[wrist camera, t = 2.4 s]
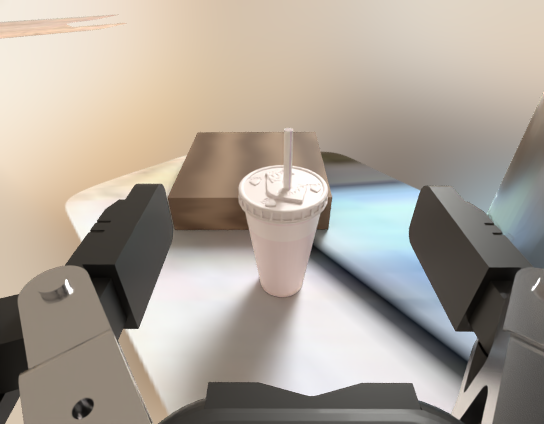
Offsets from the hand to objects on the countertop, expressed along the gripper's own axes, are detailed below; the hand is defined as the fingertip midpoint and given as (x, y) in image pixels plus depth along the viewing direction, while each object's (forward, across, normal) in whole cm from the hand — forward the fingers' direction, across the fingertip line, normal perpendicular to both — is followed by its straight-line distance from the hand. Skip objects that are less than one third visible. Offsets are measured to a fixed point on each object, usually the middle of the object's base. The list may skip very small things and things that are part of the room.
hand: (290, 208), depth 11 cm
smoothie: (+12, 0, +16) cm, 20 cm away
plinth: (+27, +3, +15) cm, 31 cm away
